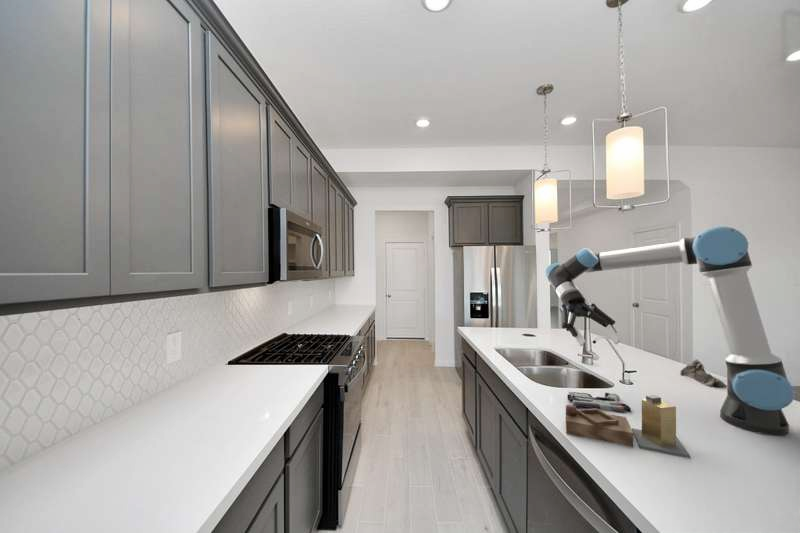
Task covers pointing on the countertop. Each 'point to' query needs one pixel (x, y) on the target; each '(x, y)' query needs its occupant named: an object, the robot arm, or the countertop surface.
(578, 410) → the body
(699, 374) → the rock
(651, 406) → the labelled wooden block
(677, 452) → the mat
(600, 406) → the toy gun
